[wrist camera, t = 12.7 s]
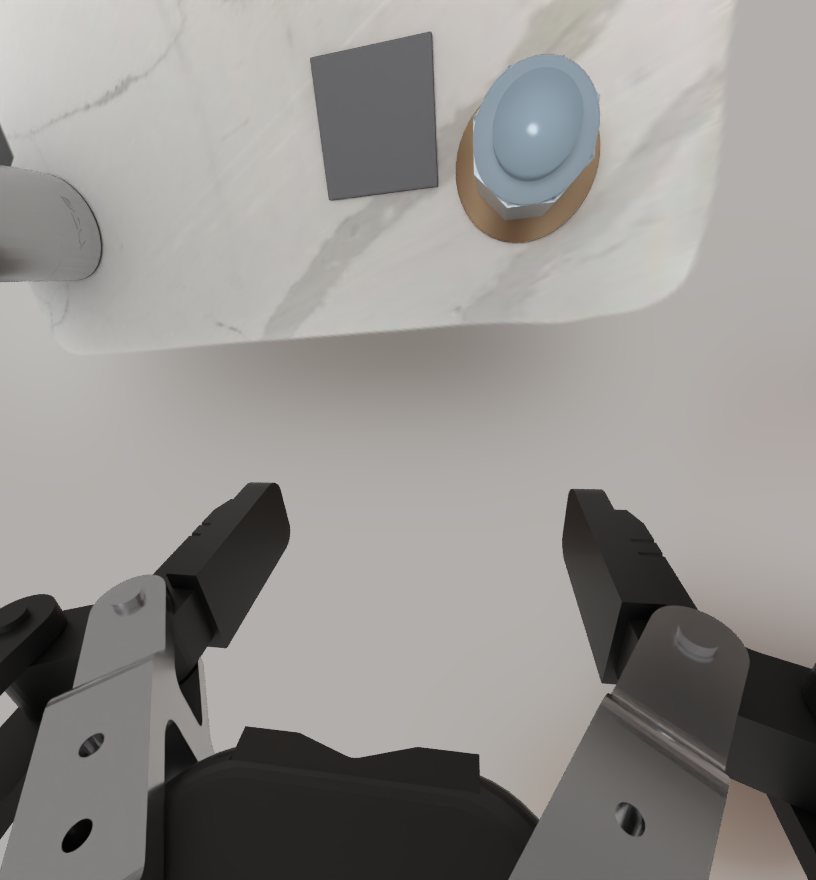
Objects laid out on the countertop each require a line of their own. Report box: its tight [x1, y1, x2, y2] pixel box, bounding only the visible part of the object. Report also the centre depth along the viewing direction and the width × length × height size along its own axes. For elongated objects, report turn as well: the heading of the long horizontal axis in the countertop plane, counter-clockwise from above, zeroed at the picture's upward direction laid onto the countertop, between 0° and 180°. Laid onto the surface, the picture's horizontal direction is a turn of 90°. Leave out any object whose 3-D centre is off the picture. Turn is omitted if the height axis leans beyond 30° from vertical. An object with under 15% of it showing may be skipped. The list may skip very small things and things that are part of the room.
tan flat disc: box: [456, 107, 600, 243], centre depth 29 cm, size 10×10×1 cm
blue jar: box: [473, 54, 600, 221], centre depth 24 cm, size 7×7×10 cm
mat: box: [310, 32, 438, 200], centre depth 30 cm, size 9×9×1 cm
